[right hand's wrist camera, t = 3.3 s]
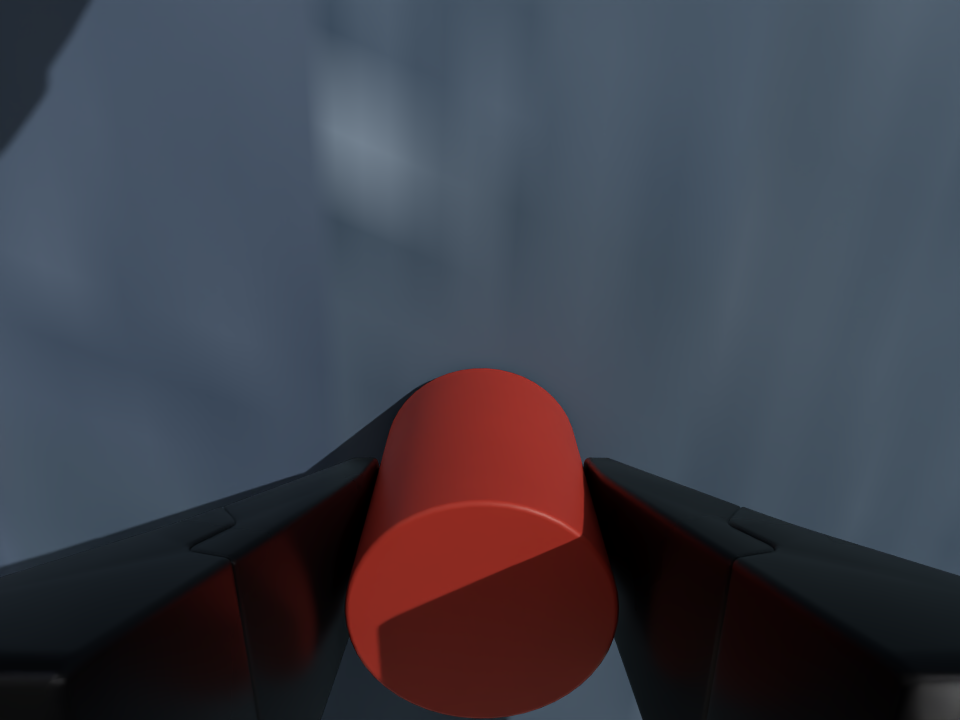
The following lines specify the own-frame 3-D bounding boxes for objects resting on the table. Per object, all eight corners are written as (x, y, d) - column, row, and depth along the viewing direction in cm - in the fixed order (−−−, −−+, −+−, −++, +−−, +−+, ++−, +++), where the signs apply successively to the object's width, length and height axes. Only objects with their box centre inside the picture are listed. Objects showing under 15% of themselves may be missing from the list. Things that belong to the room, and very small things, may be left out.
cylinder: (578, 526, 13) (620, 713, 9) (399, 538, 13) (364, 728, 9) (572, 360, 12) (619, 492, 8) (375, 374, 12) (322, 512, 8)
